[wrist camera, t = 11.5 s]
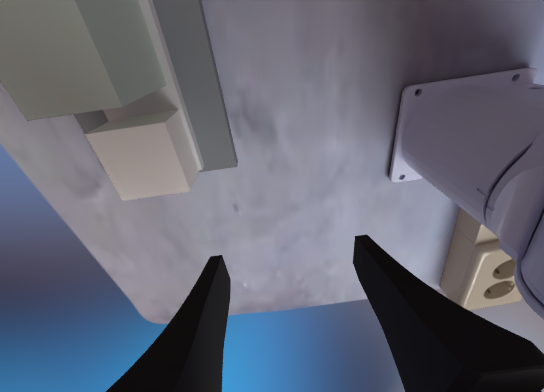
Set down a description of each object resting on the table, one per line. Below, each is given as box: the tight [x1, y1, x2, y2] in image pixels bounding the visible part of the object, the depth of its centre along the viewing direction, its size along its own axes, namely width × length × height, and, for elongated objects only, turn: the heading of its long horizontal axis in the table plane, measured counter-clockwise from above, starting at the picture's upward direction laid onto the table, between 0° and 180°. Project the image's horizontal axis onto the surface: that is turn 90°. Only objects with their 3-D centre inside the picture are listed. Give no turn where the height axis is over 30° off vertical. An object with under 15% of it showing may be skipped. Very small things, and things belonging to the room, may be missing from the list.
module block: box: [0, 0, 167, 121], centre depth 11 cm, size 4×5×6 cm
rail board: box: [74, 0, 238, 201], centre depth 13 cm, size 10×18×5 cm, turn 7°
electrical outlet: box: [440, 207, 523, 311], centre depth 25 cm, size 7×4×18 cm
